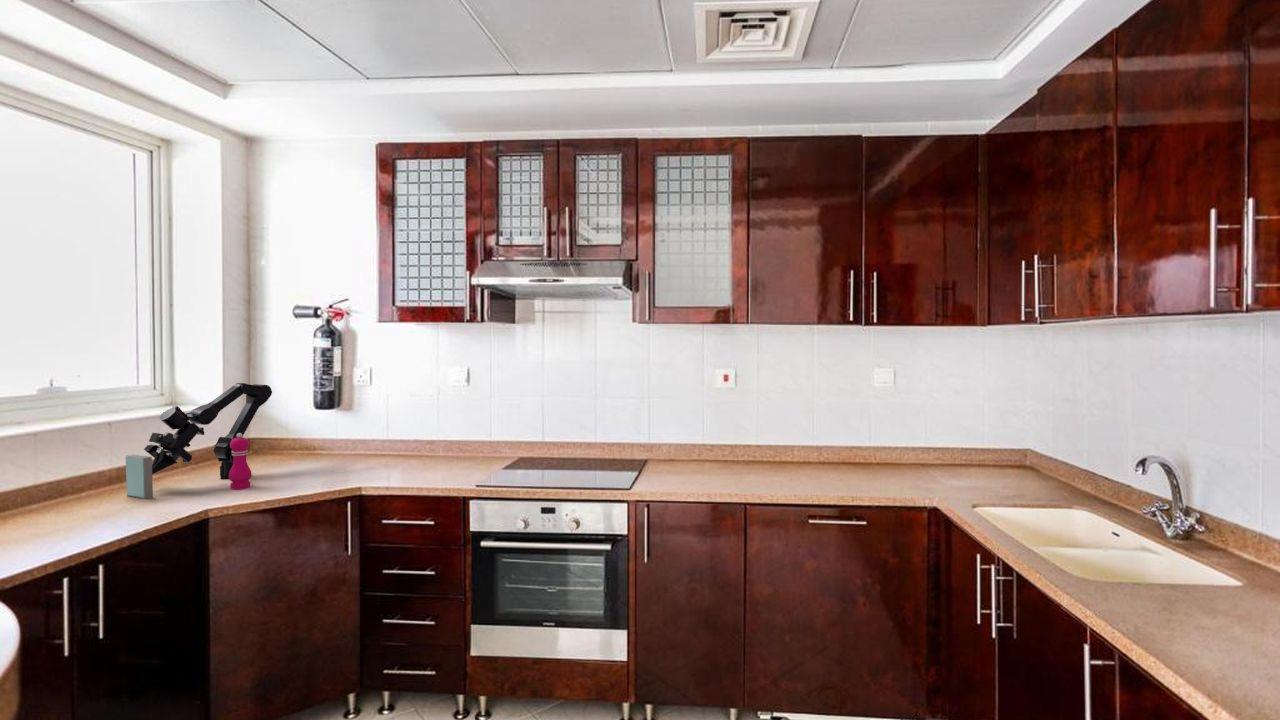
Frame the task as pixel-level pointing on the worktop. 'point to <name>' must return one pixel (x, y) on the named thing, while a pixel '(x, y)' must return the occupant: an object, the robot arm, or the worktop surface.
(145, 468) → the tile
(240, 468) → the pepper mill
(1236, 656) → the worktop surface
